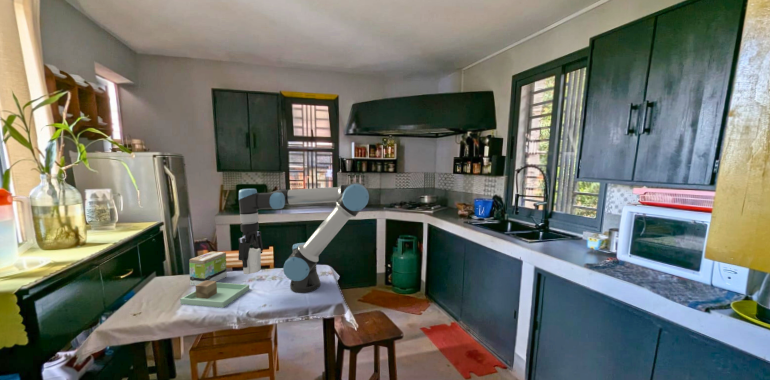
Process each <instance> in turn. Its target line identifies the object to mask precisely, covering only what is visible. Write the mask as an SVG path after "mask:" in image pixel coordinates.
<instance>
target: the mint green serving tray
mask: <svg viewBox="0 0 770 380" xmlns="http://www.w3.org/2000/svg"><path fill="white" fill-rule="evenodd" d="M216 284H217V293H216V294H215V295H213V296H211V297H210V298H208V299H205V298H196V290H193V291H192V292H190V293H188V294H186V295H185V296H183V297H180V298H179V300H180V304H181V305H188V306H199V307H200V306H201V307H212V308H225V307H226V306H228V305H229V304H230V303H232V302H233V301H235V300H237V299H238V298H240V297H241V296H242V295H243V294H245V293H247V292H248V291H249V290H250V284H243V283H231V282H230V283H229V282H218V281H216Z"/></svg>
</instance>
